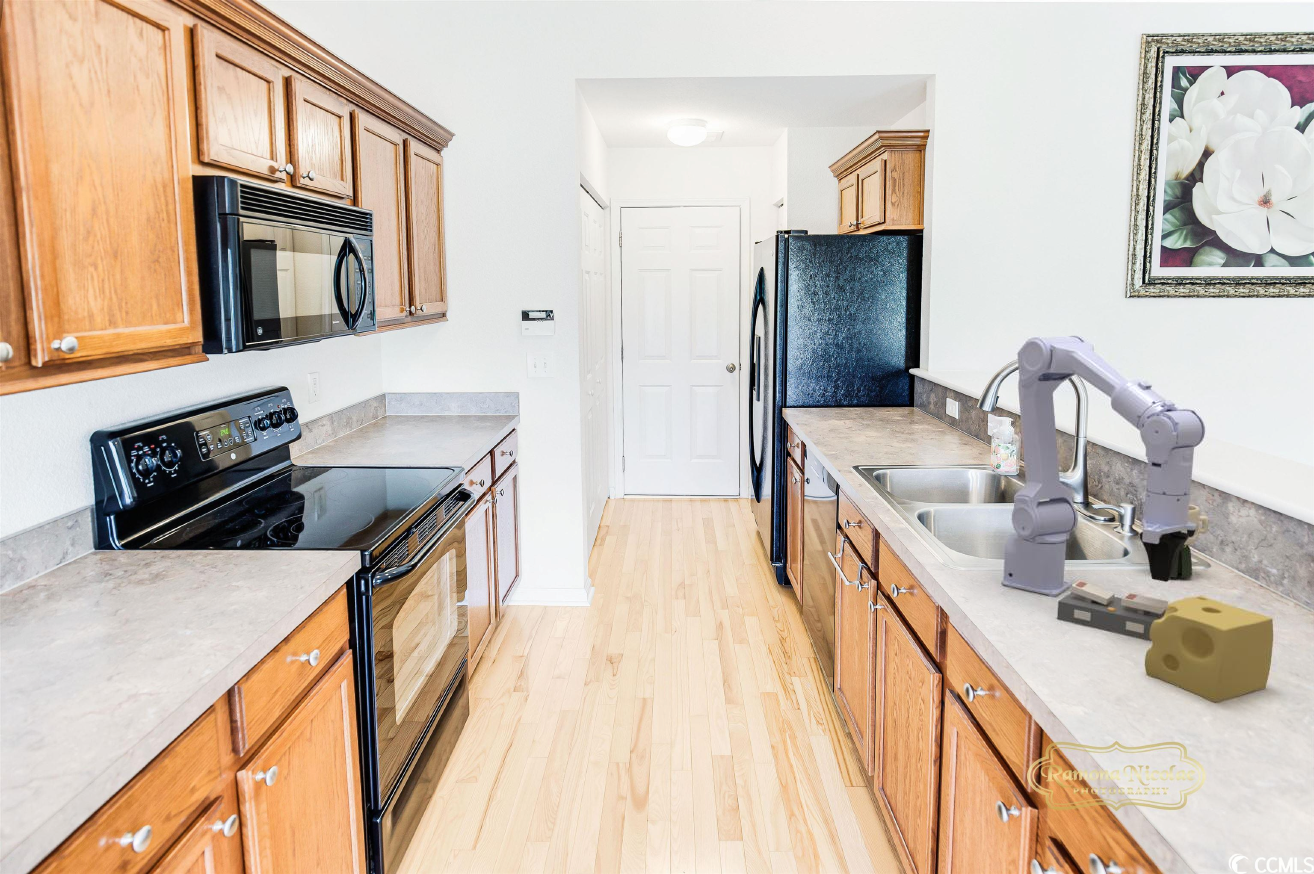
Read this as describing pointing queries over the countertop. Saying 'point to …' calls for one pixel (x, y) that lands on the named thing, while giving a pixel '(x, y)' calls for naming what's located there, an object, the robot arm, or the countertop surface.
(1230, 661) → the cheese
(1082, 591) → the rocker
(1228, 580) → the countertop surface
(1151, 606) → the rocker
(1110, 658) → the countertop surface
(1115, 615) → the double switch panel
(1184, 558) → the character mug
